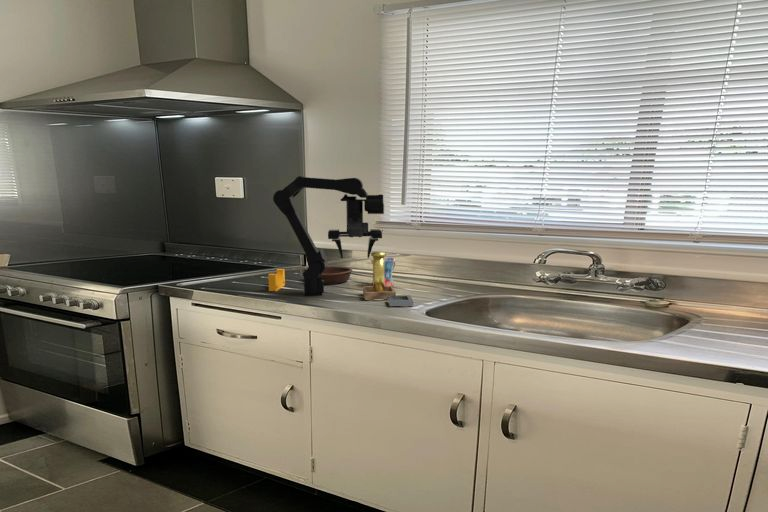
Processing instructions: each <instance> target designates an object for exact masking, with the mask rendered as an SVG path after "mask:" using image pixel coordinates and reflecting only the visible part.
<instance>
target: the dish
mask: <svg viewBox="0 0 768 512" xmlns="http://www.w3.org/2000/svg"><path fill="white" fill-rule="evenodd" d="M352 272H353V269H352V268H350V267H343V266H342V267H341V266H327V268H326V269H325V270H324V271H323V272H322V274H321V275H320V276H322V280H324V285H337V284H338V285H339V284H343V283H346V282H348V281H349V279H350V277H351V274H352Z"/></svg>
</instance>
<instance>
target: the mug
mask: <svg viewBox="0 0 768 512" xmlns="http://www.w3.org/2000/svg"><path fill="white" fill-rule="evenodd" d="M370 261H371V263H372V265H373V257H372V258H370ZM395 261H396V259H395V258H394V257H387V256H384V286H393V287H394V285H395V283H394V282H395V281H394V280H393V275H392V274H393V272H394V270H395V267H396V262H395ZM371 286H373V281H372V282H371Z"/></svg>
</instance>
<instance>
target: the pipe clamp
mask: <svg viewBox="0 0 768 512" xmlns="http://www.w3.org/2000/svg"><path fill="white" fill-rule="evenodd" d="M285 273H286V272H285V269H284V268H278V269H276V273H269V274H267V275H268V292H269V291H276V292H277V291H279V290H280V289H282V288H284V287H285V286H286V279H285V278H286V277H285Z"/></svg>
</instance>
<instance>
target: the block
mask: <svg viewBox="0 0 768 512" xmlns="http://www.w3.org/2000/svg"><path fill="white" fill-rule="evenodd" d="M386 301H388V302H387V304H388V303H389V304H388V307H389V306H413V307H414V299H413V298H412V297H411V295H410V294H409V295H407V294H405V295H403V294H402V295H396V296H387V300H386Z"/></svg>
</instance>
